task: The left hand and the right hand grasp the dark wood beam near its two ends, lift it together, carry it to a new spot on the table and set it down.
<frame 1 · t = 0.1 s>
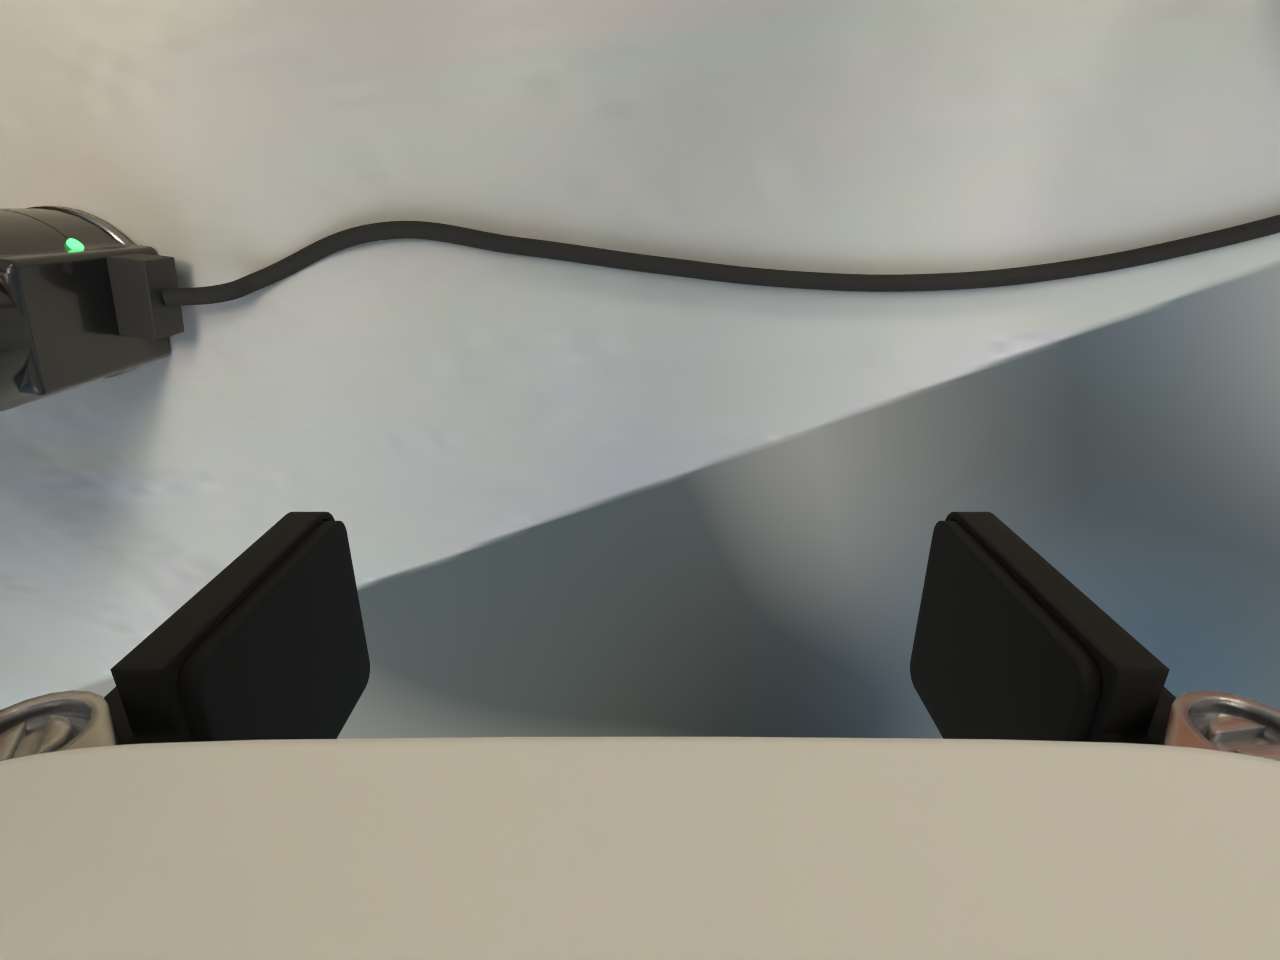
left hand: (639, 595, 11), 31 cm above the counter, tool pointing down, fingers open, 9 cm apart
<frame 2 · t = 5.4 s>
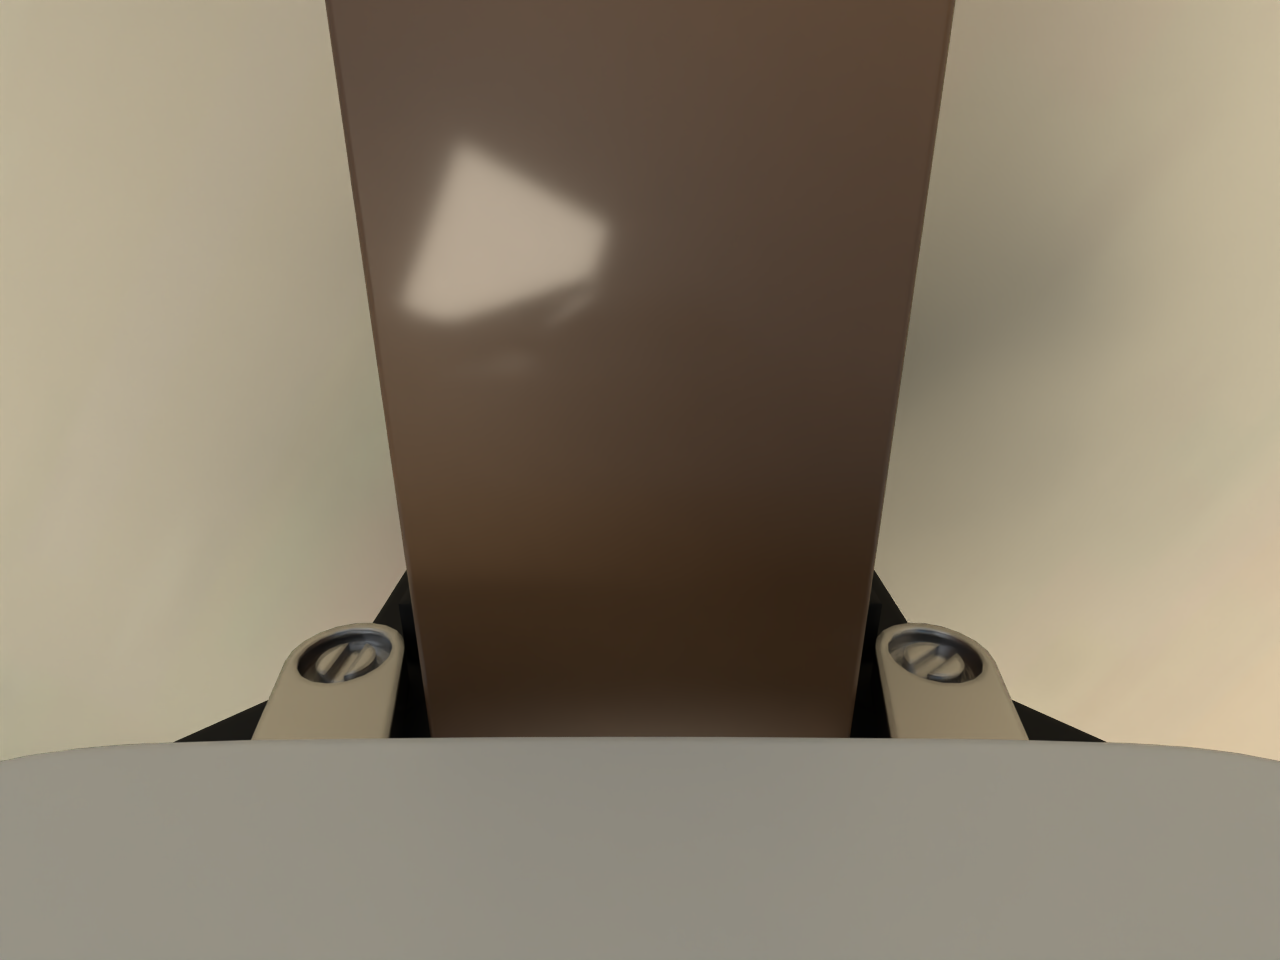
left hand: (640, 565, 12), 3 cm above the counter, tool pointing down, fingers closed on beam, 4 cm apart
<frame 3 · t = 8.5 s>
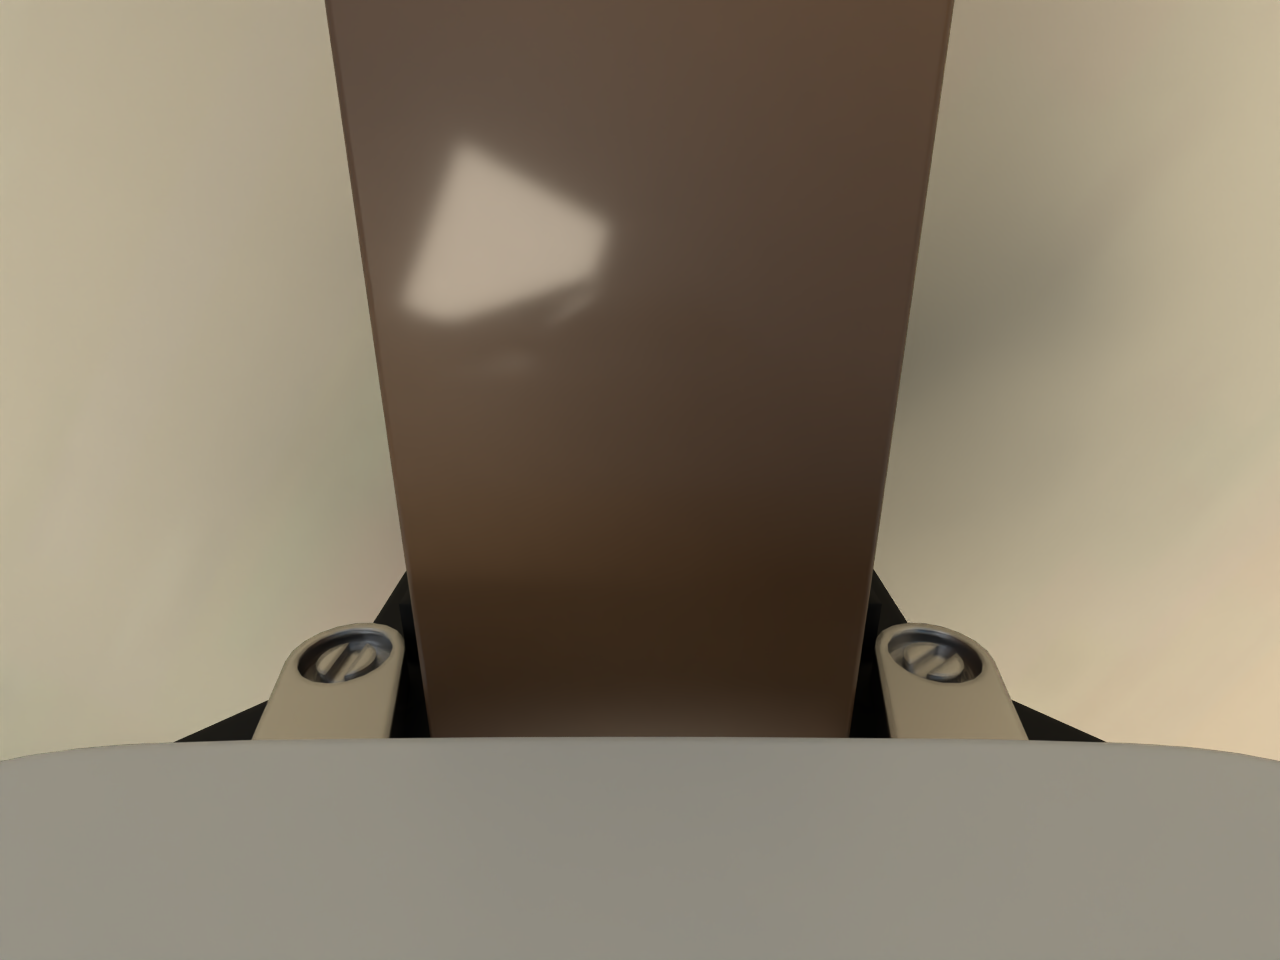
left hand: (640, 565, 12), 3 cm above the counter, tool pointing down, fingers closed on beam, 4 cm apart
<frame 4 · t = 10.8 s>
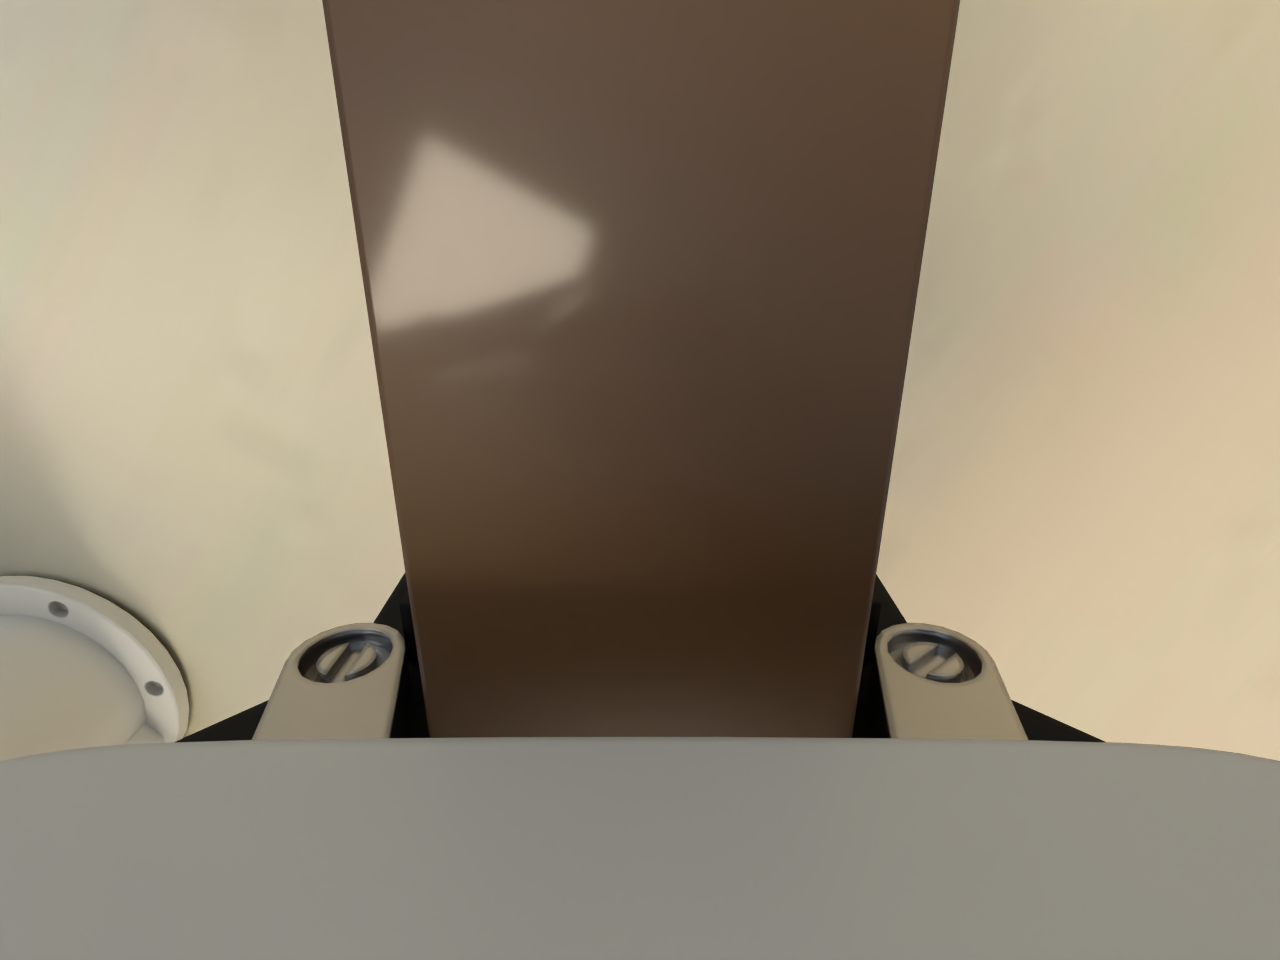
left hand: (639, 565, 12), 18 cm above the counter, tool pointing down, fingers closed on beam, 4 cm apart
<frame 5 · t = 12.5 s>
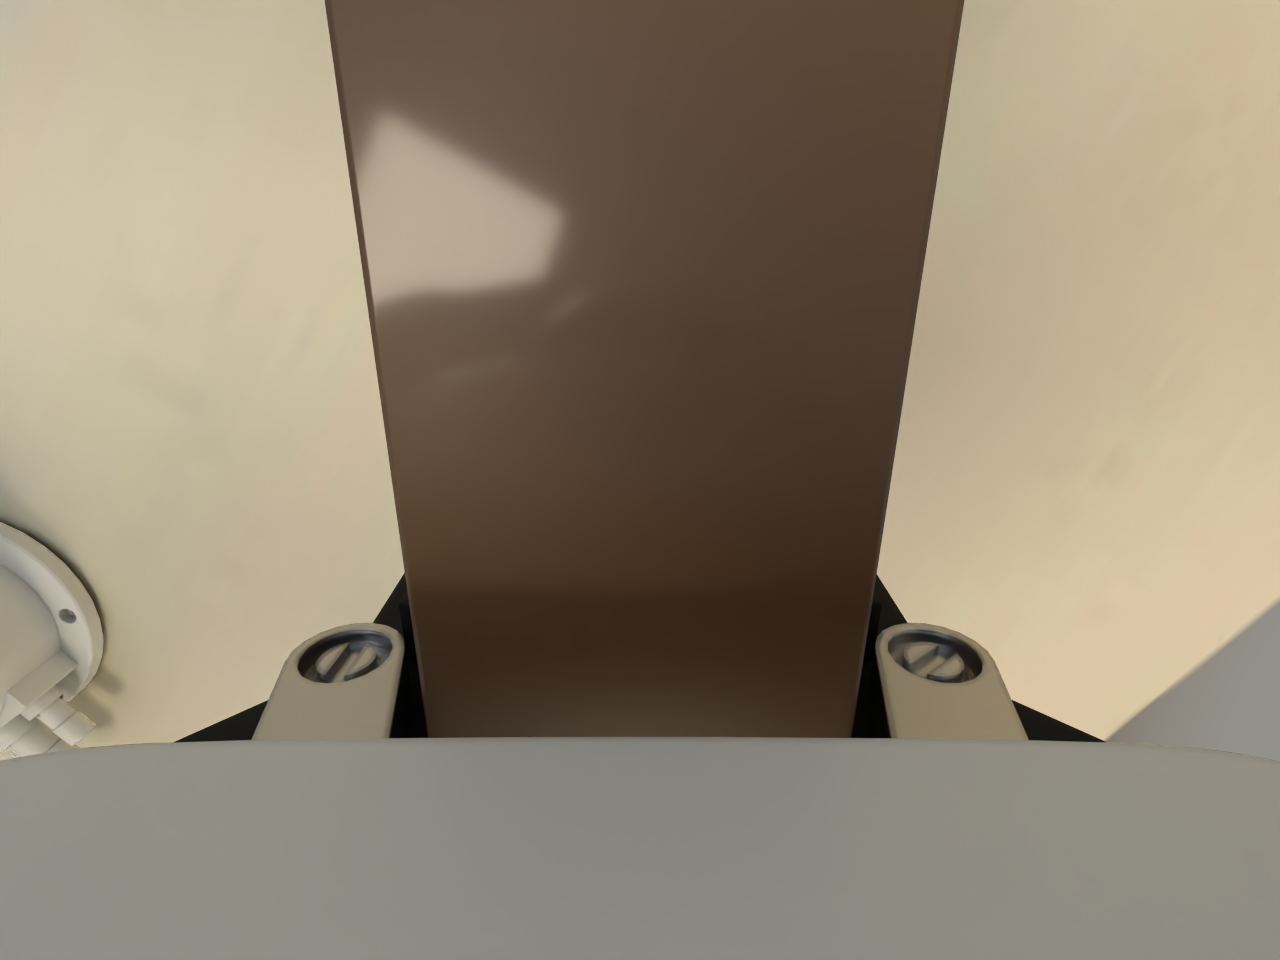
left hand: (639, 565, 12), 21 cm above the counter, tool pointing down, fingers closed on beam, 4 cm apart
when the left hand's fingers open (4 cm above the counter, at t = 16.7 s): beam drops 1 cm, on the counter.
when the right hand's fingers open (4 cm above the counter, at t = 16.8 s): beam stays where it is, on the counter.
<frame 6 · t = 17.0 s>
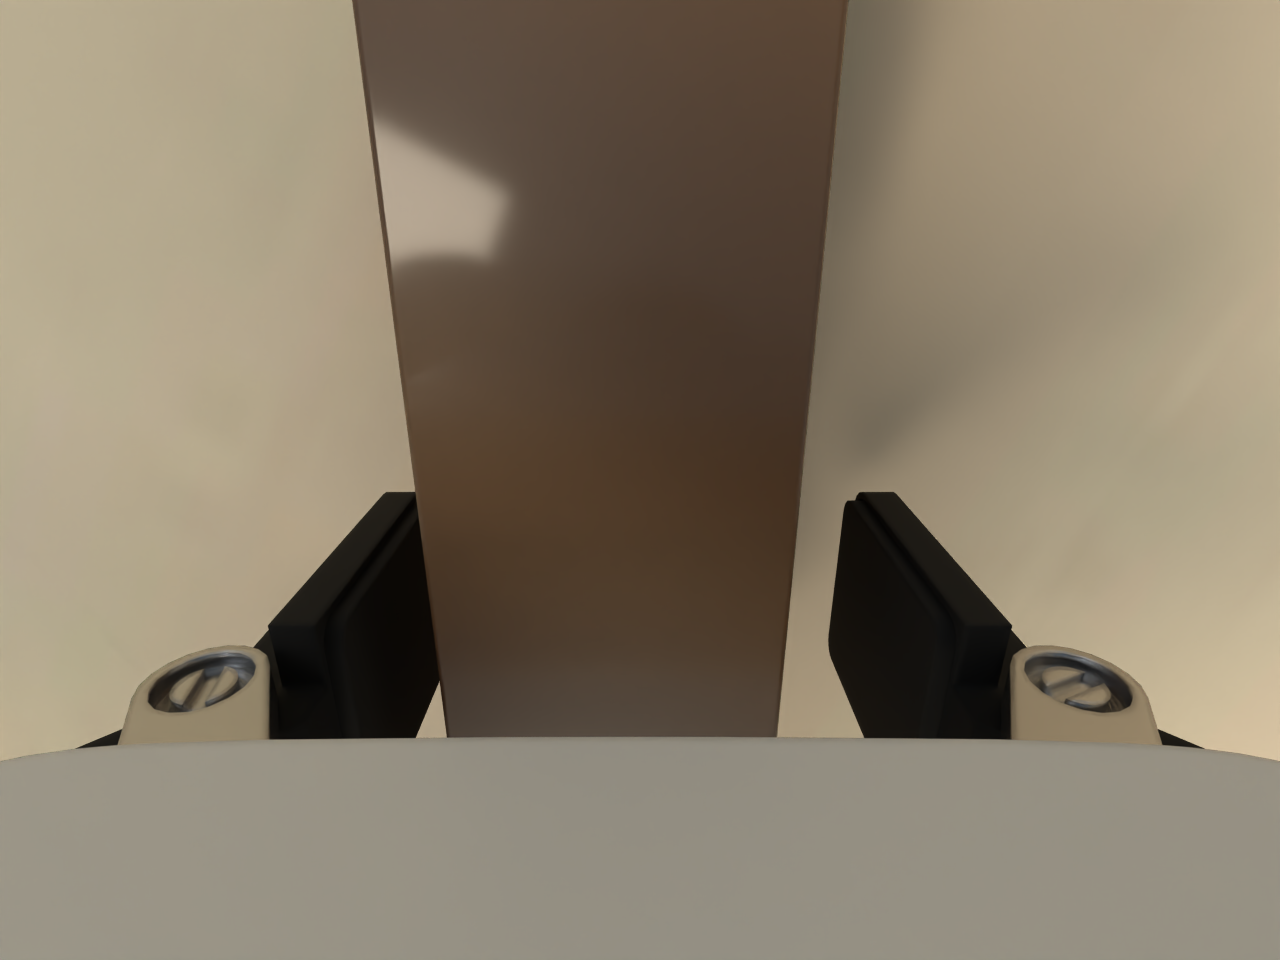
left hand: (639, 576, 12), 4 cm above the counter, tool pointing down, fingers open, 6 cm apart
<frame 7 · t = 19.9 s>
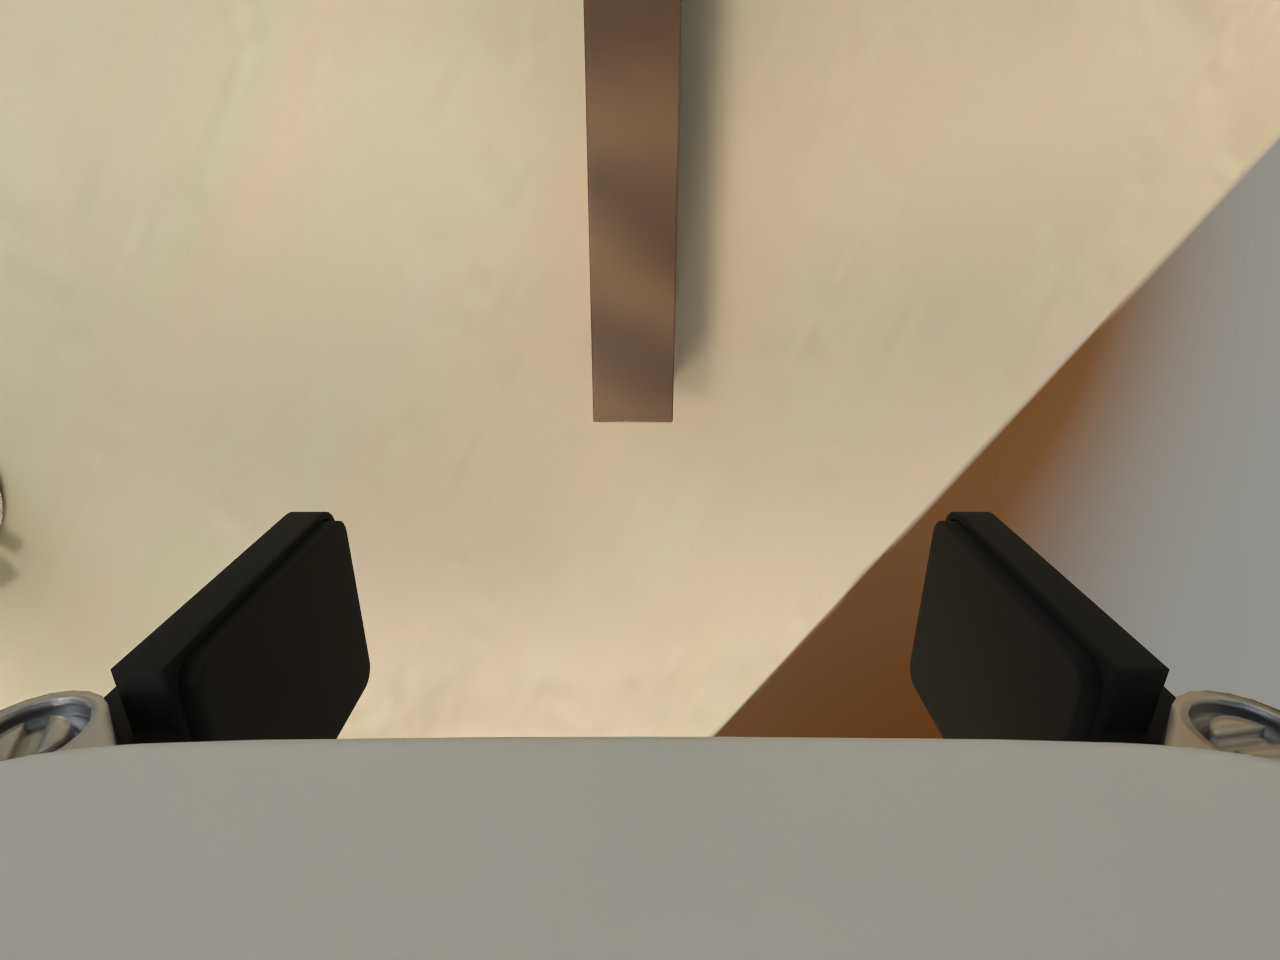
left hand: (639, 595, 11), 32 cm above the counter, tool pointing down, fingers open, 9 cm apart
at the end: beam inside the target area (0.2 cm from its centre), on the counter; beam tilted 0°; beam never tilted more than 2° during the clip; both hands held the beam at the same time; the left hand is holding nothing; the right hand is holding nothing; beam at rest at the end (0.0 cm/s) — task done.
